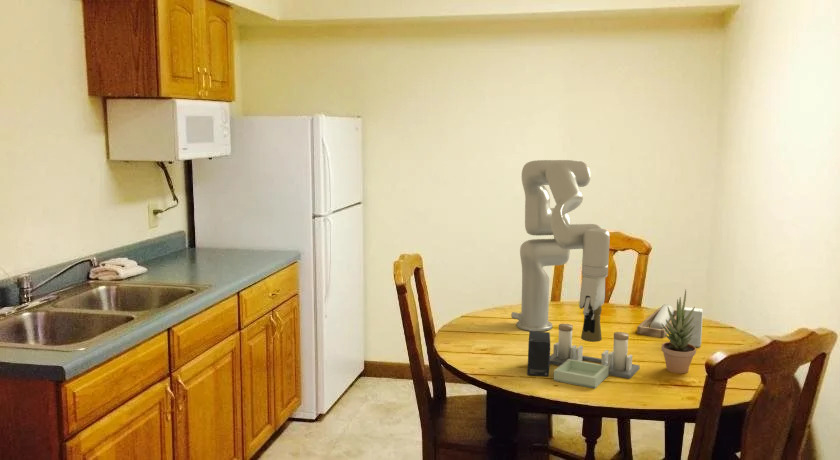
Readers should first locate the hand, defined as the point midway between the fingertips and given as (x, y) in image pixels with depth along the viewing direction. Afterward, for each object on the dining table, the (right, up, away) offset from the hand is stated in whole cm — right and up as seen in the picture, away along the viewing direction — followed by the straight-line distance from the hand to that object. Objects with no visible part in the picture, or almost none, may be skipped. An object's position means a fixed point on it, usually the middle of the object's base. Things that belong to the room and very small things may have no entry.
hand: (591, 329), depth 219 cm
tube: (+36, -5, +45) cm, 57 cm away
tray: (-5, -13, -10) cm, 17 cm away
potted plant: (+25, -12, -3) cm, 28 cm away
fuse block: (0, -11, +1) cm, 11 cm away
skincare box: (+38, -8, +22) cm, 45 cm away
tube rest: (+36, -5, +45) cm, 57 cm away
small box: (-16, -12, -3) cm, 20 cm away
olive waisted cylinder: (0, -3, +1) cm, 3 cm away
